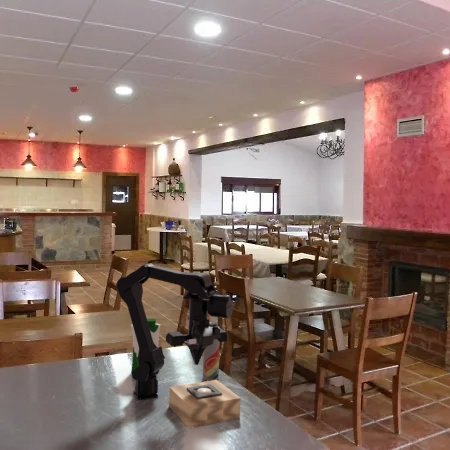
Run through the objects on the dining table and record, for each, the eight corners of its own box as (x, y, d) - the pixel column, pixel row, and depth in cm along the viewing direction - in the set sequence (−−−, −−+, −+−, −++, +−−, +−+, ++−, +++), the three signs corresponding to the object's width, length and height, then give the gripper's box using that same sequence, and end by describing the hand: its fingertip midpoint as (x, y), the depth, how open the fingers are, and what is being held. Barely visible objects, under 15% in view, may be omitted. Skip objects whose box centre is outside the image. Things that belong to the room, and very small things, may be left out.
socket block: (189, 428, 135) (189, 404, 134) (169, 406, 149) (169, 385, 149) (239, 418, 142) (240, 395, 142) (216, 398, 156) (216, 378, 156)
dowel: (200, 412, 143) (200, 393, 142) (194, 407, 146) (195, 389, 146) (212, 410, 145) (213, 391, 144) (207, 405, 148) (207, 387, 148)
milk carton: (144, 379, 171) (146, 323, 171) (127, 373, 177) (128, 319, 176) (162, 372, 178) (163, 318, 178) (144, 367, 184) (145, 315, 183)
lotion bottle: (216, 381, 171) (218, 325, 170) (200, 380, 172) (202, 324, 171) (220, 376, 176) (221, 321, 175) (204, 375, 177) (206, 320, 177)
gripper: (178, 322, 138) (176, 376, 139) (237, 318, 146) (234, 369, 147) (166, 313, 148) (164, 364, 149) (221, 310, 156) (219, 358, 157)
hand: (196, 364), depth 150 cm, fingers closed
